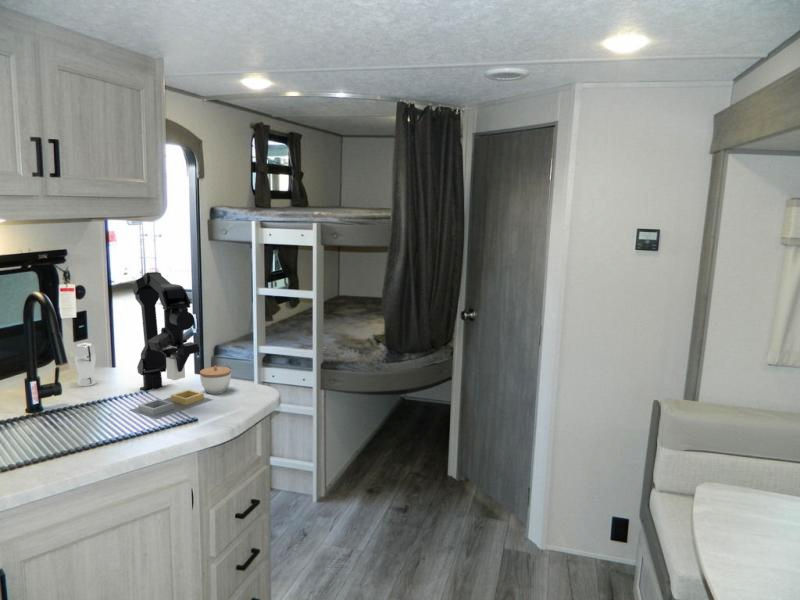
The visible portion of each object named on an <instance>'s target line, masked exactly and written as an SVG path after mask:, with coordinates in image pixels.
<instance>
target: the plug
mask: <svg viewBox="0 0 800 600" xmlns="http://www.w3.org/2000/svg"><path fill="white" fill-rule="evenodd" d="M185 365H186V364H185ZM185 365H184V367H183V370H182V371H181V372H178V368H177V360H176V357H175V356H174V355H171V357H167V358H166V379H168V380H172V381H177V380H180V379H185V378H186V374H185V373H186V370H185V369H186V367H185Z"/></svg>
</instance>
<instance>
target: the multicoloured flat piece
mask: <svg viewBox="0 0 800 600" xmlns="http://www.w3.org/2000/svg"><path fill="white" fill-rule="evenodd" d="M211 401H213V399H212V398H209V397H205V394H204V392H199V391H196V390H192V389H186V390H183V391H180V392H177V393H173V394H170V397H167V398H164V399H162V398H158V399H154V400H151V401H146V402H144V403H141V404H140V403H139V404H138V405H137V406H138V407H135V408H131V409H129V410H128V411H129V412H132V413H136V414H139V415H142V416H145V417H149V418H151V419H155V420H158V419H161V418H164V417H167V416H170V415H174V414H175V413H179V412H182V411H184V410H185V411H186V410H188V409H190V408H194V407H196V406H200V405H203V404H206V403H207V402H211Z"/></svg>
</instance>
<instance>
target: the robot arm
mask: <svg viewBox="0 0 800 600" xmlns="http://www.w3.org/2000/svg"><path fill="white" fill-rule="evenodd" d="M132 292H133V295H134V296H135V297H134V298H135V300H136V301H137V303H138V304H139V305H140V308H141V317H142V328H143V340H144V347H143V348H142V350H141V353H140V359H139V361H138V364H137V367H136V369H137V373H138V374H139V375H141V376H142V379H143V380H142V382H143V386H141V387H139V389H140V390H143V391H146V392H147V391H151V390H157V389H161V388H163V387H164V385H163V377H162V373H163V372H164V373H165V372H166V373H167V367H166V358H167V357H171V355H174V356H175V357H176V360H177V368H178V372H181V371H182V370H183V367H184V365H186V363H187V360H189V357H190V355H192V354H197V353H200V352H201V346H200V344H199V343H196V342H192V341H190V342H188V341H187V338H184V337H185V336H184V335H185V332H184V331H187V330H189V329H191V328H192V327H193V326H194V324H195V320H196V319H195V317H194V315H193V314H192V313H191V312H189V309H188V308H191V301H190V298H189V295H188V293H187V291H186V289H185V288H184V287H183V286H182V285H180V284H175V283H174V284H173V283H171V282H170V281H169V280H168V279H166V278H165V277H164V276H162V273H161V272H159V271H152V272H146V273H144V274H143V276H141V277H140V278H137V279H136V280H135V282H134V284H133V286H132ZM158 300H159V302H160V304H161V305H162V309H163V317H164V318H163V320H164V321H163V323H164V327H161V329H160V333H159V331H158V322H157V319H158V318H157V311H156V310H157V309H156V304H157V303H158Z"/></svg>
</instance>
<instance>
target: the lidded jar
mask: <svg viewBox="0 0 800 600" xmlns="http://www.w3.org/2000/svg"><path fill="white" fill-rule="evenodd" d="M199 376H200V383H201V385H202V387H203V389H204V391H206V392H207V393H208V394H211V395H212V394H213V395H216V394H222V393H224V392H225V391H226V389H228V387H229V386H230V383H231V379H232V378H231V377H232V369H231V368H230V367H227V366H226V367H225V366H217V365H214V366H209V367H205V368H203V369H201V370H200V371H199Z"/></svg>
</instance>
